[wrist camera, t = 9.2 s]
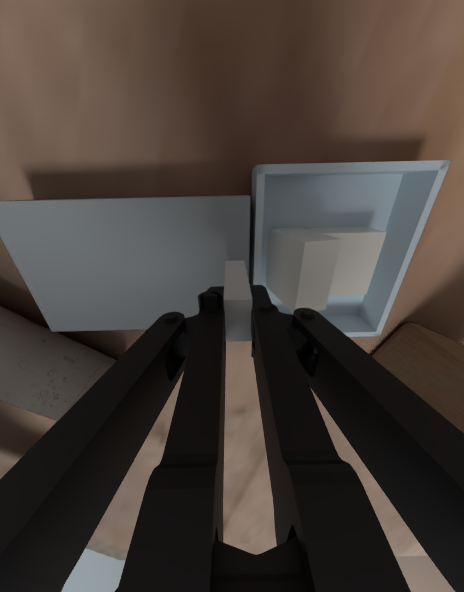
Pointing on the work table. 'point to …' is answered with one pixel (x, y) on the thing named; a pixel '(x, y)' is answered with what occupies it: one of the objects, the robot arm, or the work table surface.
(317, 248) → the tile
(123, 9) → the work table surface
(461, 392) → the wooden block
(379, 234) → the tile
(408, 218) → the tray
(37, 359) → the thermos bottle
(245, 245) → the board
